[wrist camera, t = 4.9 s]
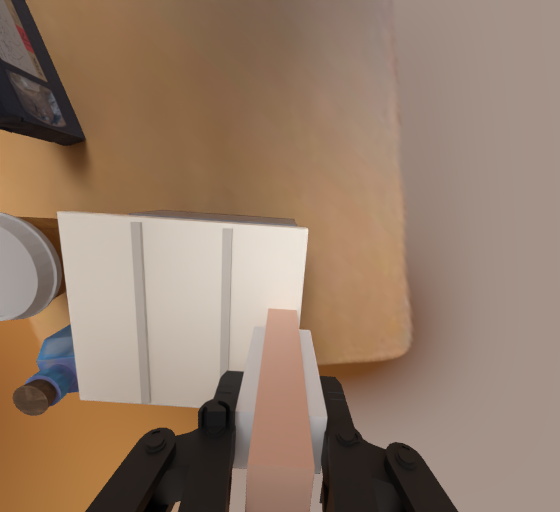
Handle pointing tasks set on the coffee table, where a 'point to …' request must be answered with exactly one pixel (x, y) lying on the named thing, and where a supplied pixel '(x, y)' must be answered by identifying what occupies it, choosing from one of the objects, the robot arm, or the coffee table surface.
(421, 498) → the robot arm
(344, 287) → the coffee table surface
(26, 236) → the disposable coffee cup
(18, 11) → the vhs cassette tape
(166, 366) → the lid
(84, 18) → the coffee table surface
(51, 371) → the perfume bottle
